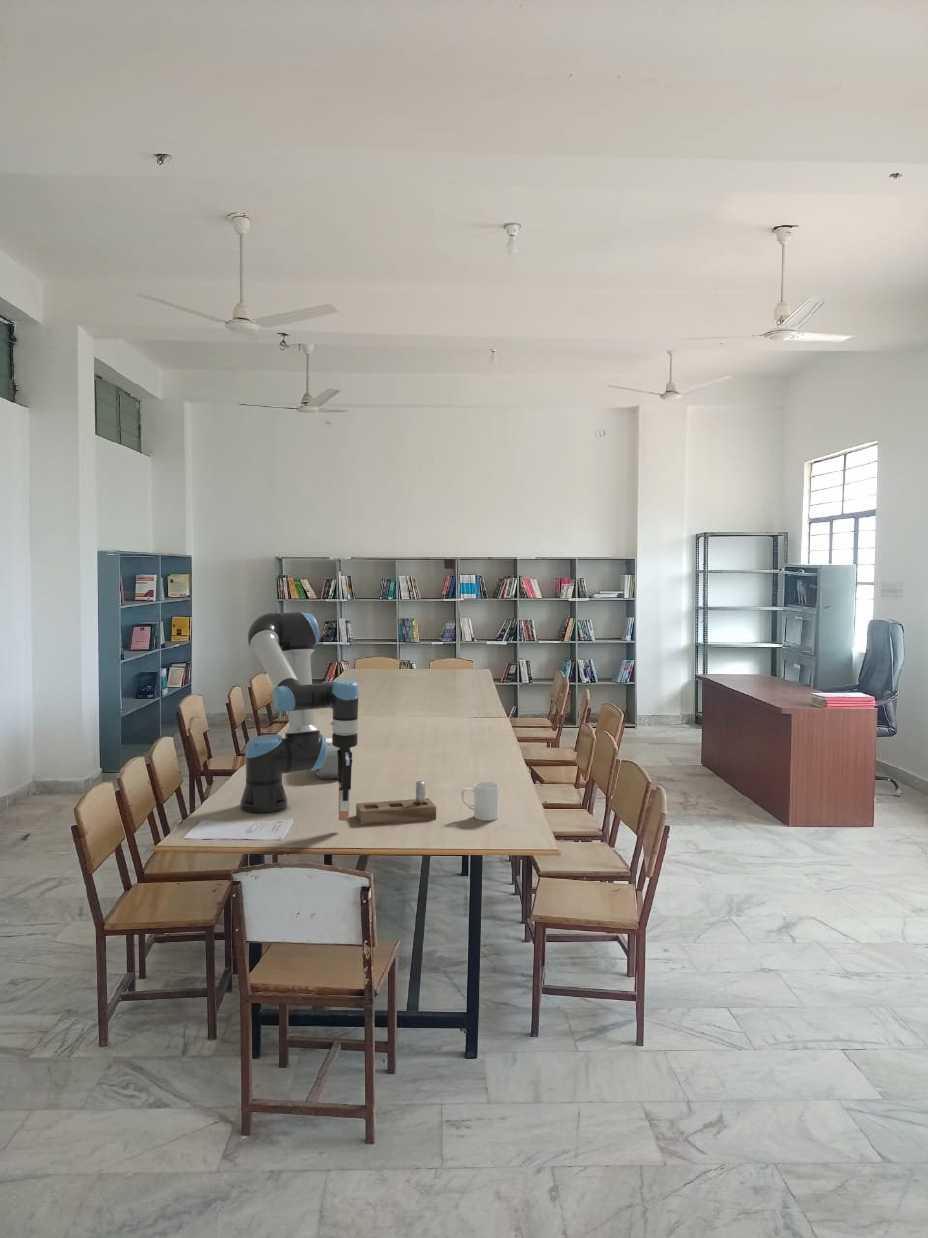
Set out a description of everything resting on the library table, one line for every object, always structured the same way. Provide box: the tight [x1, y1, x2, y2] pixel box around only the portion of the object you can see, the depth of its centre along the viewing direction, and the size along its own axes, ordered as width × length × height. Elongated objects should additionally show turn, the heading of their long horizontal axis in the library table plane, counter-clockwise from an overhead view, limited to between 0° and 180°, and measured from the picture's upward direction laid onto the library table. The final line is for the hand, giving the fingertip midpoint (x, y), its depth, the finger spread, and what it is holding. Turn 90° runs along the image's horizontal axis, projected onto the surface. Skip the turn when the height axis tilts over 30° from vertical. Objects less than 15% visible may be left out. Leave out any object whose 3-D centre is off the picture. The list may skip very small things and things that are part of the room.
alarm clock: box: [313, 737, 339, 780], centre depth 317 cm, size 21×10×13 cm, turn 18°
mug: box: [460, 781, 500, 822], centre depth 264 cm, size 12×8×10 cm, turn 103°
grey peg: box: [415, 780, 426, 806], centre depth 266 cm, size 3×3×11 cm
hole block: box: [355, 797, 437, 826], centre depth 264 cm, size 10×24×4 cm, turn 107°
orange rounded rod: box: [338, 782, 350, 822], centre depth 249 cm, size 3×3×11 cm
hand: (343, 808), depth 249 cm, fingers closed on orange rounded rod, 2 cm apart
